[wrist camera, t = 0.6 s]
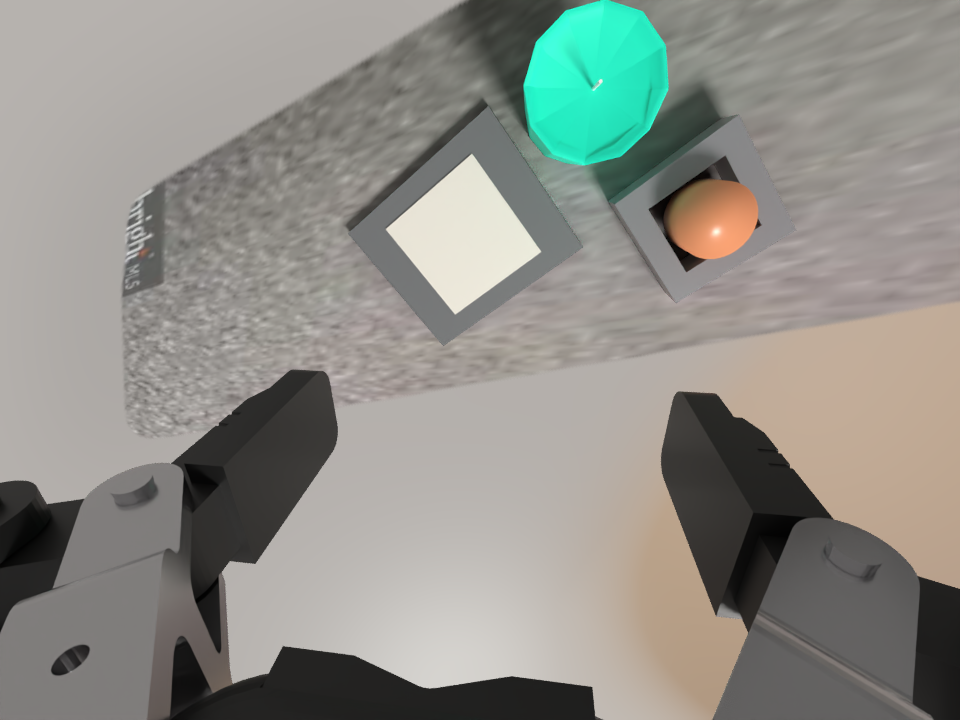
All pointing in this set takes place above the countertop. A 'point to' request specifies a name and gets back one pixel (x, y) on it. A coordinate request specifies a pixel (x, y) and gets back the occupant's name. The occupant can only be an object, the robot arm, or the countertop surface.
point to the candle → (594, 83)
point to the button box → (716, 146)
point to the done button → (711, 217)
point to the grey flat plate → (466, 230)
